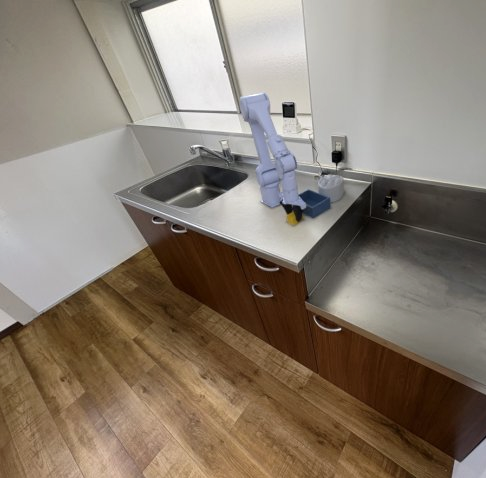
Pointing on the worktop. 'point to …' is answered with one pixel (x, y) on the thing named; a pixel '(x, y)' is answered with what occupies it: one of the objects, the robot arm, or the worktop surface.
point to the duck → (292, 218)
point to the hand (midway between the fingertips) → (294, 218)
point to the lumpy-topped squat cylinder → (331, 187)
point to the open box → (314, 203)
